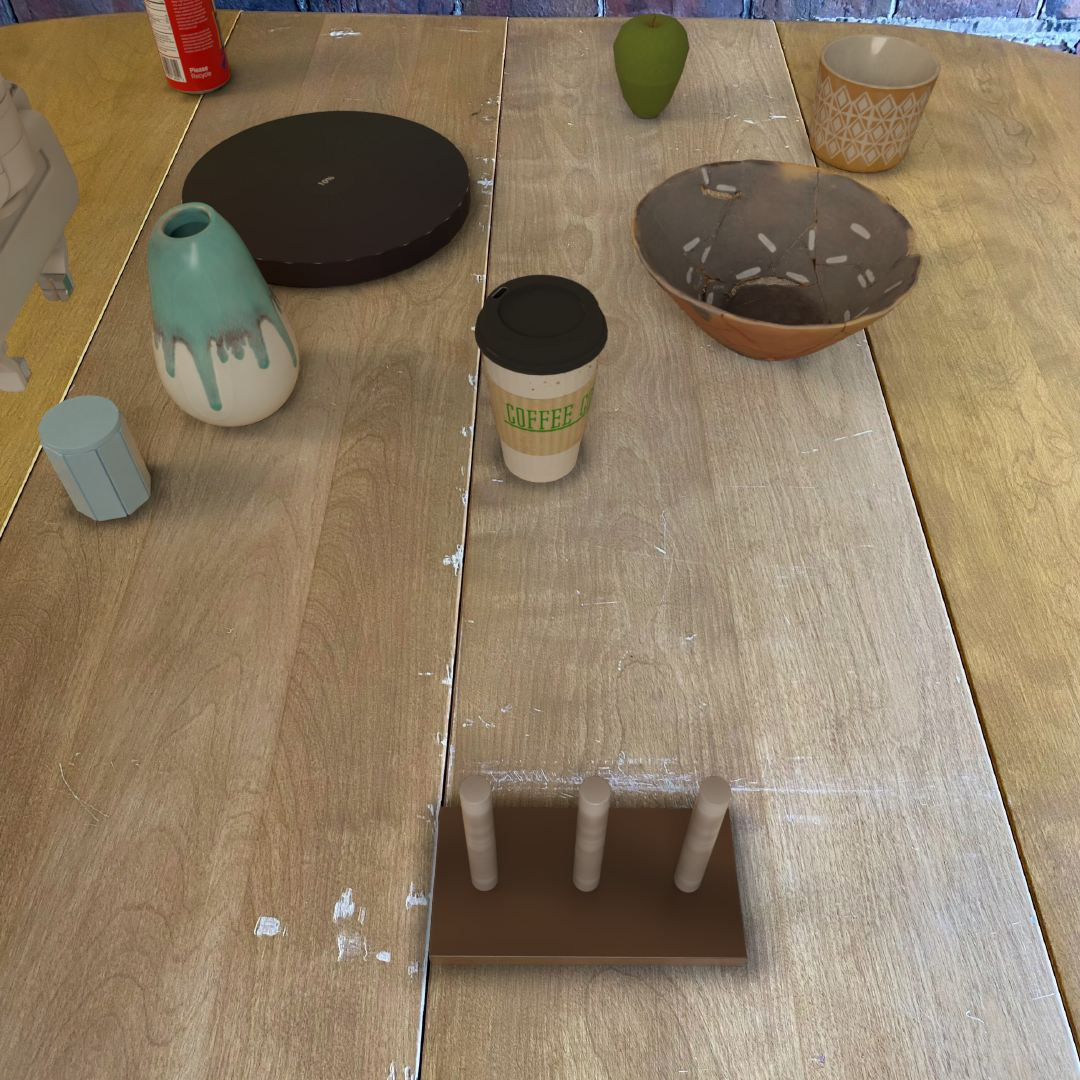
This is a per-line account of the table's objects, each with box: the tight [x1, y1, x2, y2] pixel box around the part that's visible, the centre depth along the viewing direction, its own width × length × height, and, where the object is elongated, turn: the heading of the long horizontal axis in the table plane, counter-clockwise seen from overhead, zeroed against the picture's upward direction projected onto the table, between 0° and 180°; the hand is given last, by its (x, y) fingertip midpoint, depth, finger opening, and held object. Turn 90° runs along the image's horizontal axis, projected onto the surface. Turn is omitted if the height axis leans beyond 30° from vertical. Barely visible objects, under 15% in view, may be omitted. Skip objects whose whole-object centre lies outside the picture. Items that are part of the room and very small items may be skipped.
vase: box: [146, 202, 300, 428], centre depth 80 cm, size 12×12×18 cm
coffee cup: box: [474, 274, 609, 484], centre depth 77 cm, size 10×10×15 cm
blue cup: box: [37, 394, 152, 522], centre depth 77 cm, size 6×6×8 cm
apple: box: [612, 13, 690, 119], centre depth 115 cm, size 9×8×12 cm
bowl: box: [630, 158, 923, 362], centre depth 90 cm, size 25×25×10 cm
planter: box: [809, 33, 942, 174], centre depth 110 cm, size 13×13×10 cm
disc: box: [180, 110, 471, 288], centre depth 106 cm, size 30×30×3 cm
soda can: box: [142, 0, 232, 95], centre depth 118 cm, size 8×8×15 cm
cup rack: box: [428, 774, 748, 967], centre depth 55 cm, size 9×18×14 cm, turn 90°
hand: (40, 338), depth 68 cm, fingers open, 8 cm apart
